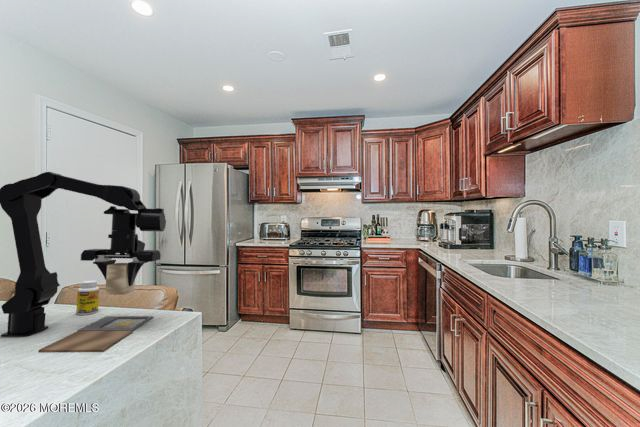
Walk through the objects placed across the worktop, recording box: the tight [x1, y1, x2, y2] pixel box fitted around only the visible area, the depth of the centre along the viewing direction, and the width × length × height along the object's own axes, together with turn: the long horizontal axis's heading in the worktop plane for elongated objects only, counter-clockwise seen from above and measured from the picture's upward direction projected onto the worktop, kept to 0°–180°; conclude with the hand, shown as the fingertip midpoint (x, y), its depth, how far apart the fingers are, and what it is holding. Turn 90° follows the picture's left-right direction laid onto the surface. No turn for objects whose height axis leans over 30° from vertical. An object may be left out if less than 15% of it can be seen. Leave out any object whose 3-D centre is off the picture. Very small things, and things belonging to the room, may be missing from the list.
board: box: [37, 330, 134, 353], centre depth 72 cm, size 14×12×1 cm
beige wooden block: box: [104, 262, 136, 296], centre depth 83 cm, size 5×5×8 cm
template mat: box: [77, 315, 154, 332], centre depth 85 cm, size 14×12×1 cm
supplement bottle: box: [75, 280, 100, 316], centre depth 95 cm, size 6×6×10 cm
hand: (120, 285), depth 82 cm, fingers closed on beige wooden block, 5 cm apart
